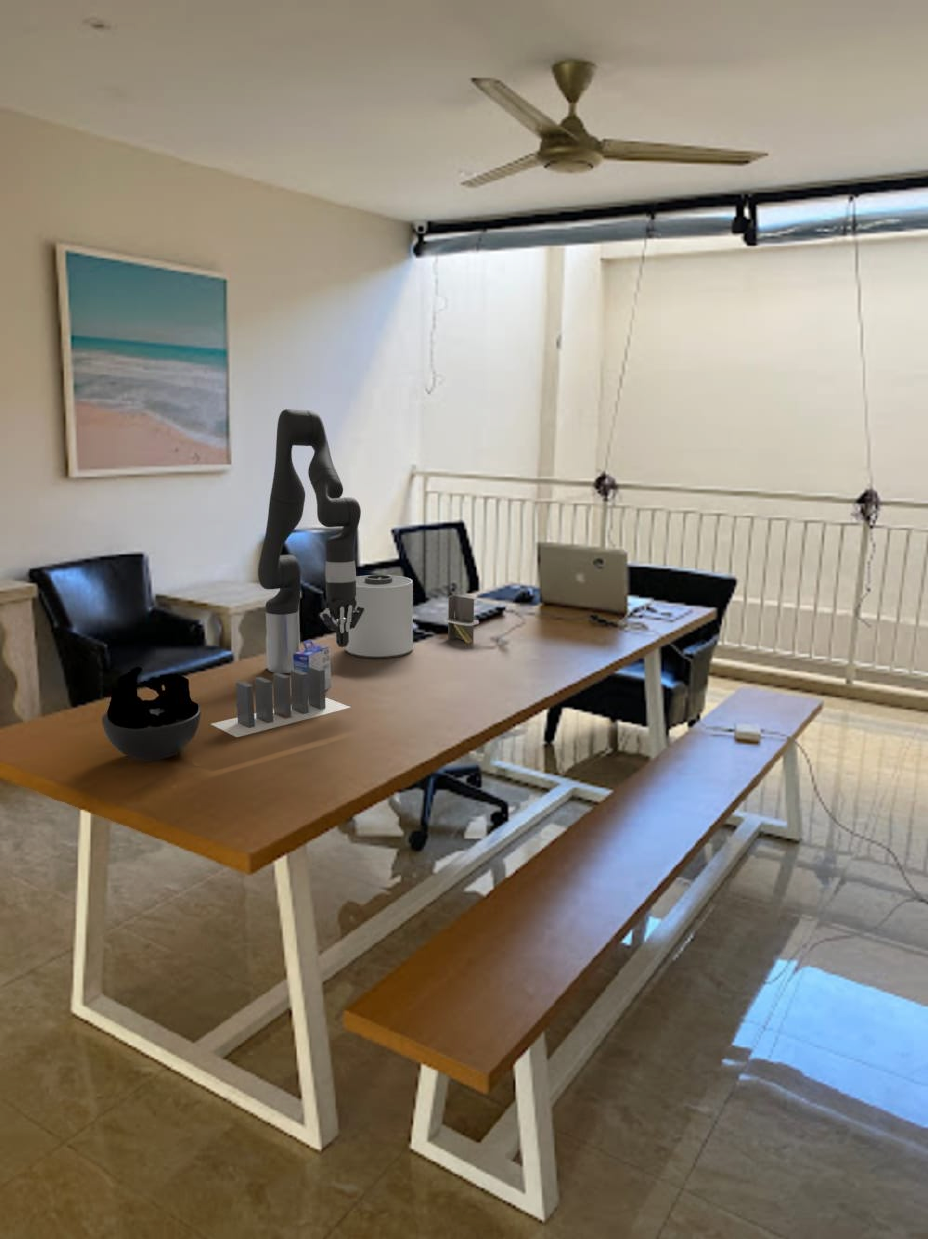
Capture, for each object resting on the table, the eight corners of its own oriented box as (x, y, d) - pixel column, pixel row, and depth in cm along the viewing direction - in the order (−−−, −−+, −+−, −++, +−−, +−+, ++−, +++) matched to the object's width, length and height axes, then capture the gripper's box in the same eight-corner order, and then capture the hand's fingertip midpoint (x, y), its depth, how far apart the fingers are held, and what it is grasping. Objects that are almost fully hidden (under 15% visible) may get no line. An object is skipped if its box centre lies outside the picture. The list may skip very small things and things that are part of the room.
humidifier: (407, 660, 274) (407, 584, 269) (338, 658, 276) (337, 582, 270) (417, 643, 295) (416, 572, 290) (353, 641, 296) (352, 570, 291)
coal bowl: (203, 770, 190) (198, 683, 185) (101, 780, 184) (93, 691, 180) (202, 737, 208) (197, 658, 204) (109, 745, 203) (102, 664, 198)
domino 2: (267, 723, 215) (265, 682, 213) (256, 718, 219) (254, 678, 216) (273, 721, 216) (271, 681, 214) (262, 716, 220) (260, 676, 218)
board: (210, 728, 215) (210, 723, 214) (323, 700, 236) (323, 695, 236) (236, 741, 206) (236, 736, 206) (350, 711, 228) (350, 706, 227)
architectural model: (468, 653, 284) (469, 608, 280) (412, 640, 300) (412, 596, 297) (508, 642, 298) (509, 598, 295) (452, 630, 314) (453, 588, 311)
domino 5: (320, 709, 225) (319, 670, 223) (308, 705, 229) (307, 666, 227) (325, 708, 226) (324, 669, 224) (314, 703, 230) (313, 665, 228)
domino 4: (303, 714, 222) (301, 674, 220) (291, 709, 225) (290, 670, 223) (308, 712, 223) (307, 673, 221) (297, 707, 227) (296, 669, 224)
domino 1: (248, 728, 212) (246, 687, 210) (237, 722, 215) (235, 682, 213) (254, 726, 213) (253, 685, 211) (243, 721, 216) (241, 680, 214)
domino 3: (285, 718, 219) (284, 678, 216) (274, 713, 222) (272, 673, 220) (291, 716, 220) (289, 677, 217) (279, 711, 223) (278, 672, 221)
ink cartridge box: (315, 687, 246) (313, 635, 243) (332, 690, 244) (331, 638, 241) (293, 697, 238) (291, 644, 235) (311, 700, 235) (309, 646, 232)
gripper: (353, 573, 233) (354, 639, 237) (309, 579, 224) (312, 647, 228) (371, 577, 228) (372, 644, 232) (327, 583, 219) (329, 653, 223)
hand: (342, 646), depth 230 cm, fingers closed
